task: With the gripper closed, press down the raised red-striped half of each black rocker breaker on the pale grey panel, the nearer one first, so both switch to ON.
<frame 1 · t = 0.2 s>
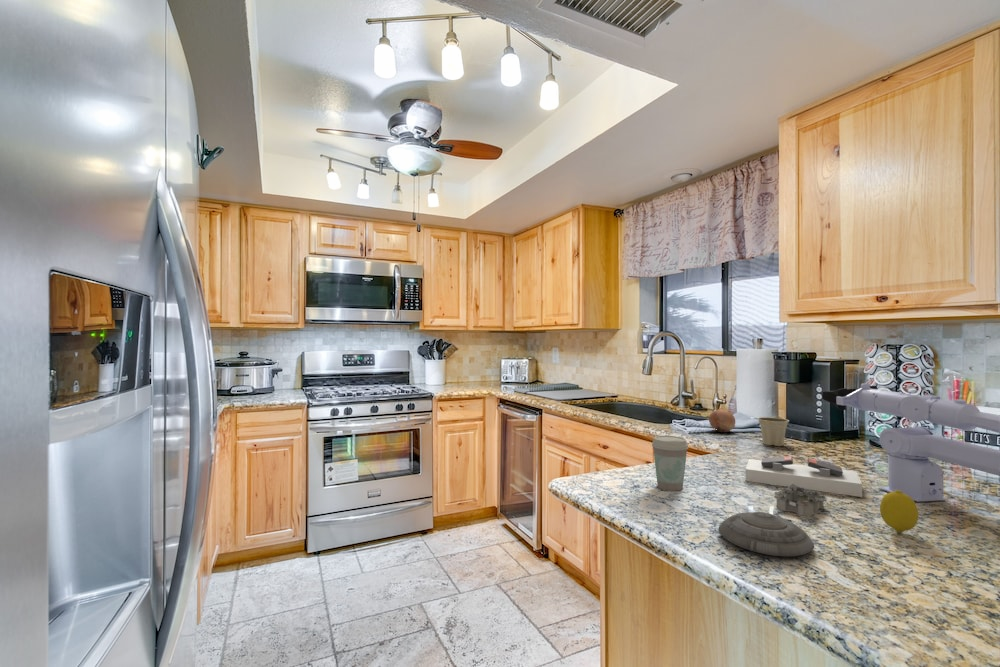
hand: (835, 394, 131), 21 cm above the table, tool horizontal, fingers open, 7 cm apart
flower pot: (773, 444, 164), on the table
lemon: (898, 533, 90), on the table
breaker panel: (800, 482, 121), on the table
breaker near: (824, 467, 118), point 4 cm above the table, hinge at 12.0°
onion: (722, 432, 186), on the table
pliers: (827, 469, 135), on the table
coffee cup: (670, 488, 117), on the table
breaker far: (777, 462, 124), point 4 cm above the table, hinge at 12.0°
flying saucer: (764, 545, 85), on the table
grey stone ruin model: (799, 509, 103), on the table
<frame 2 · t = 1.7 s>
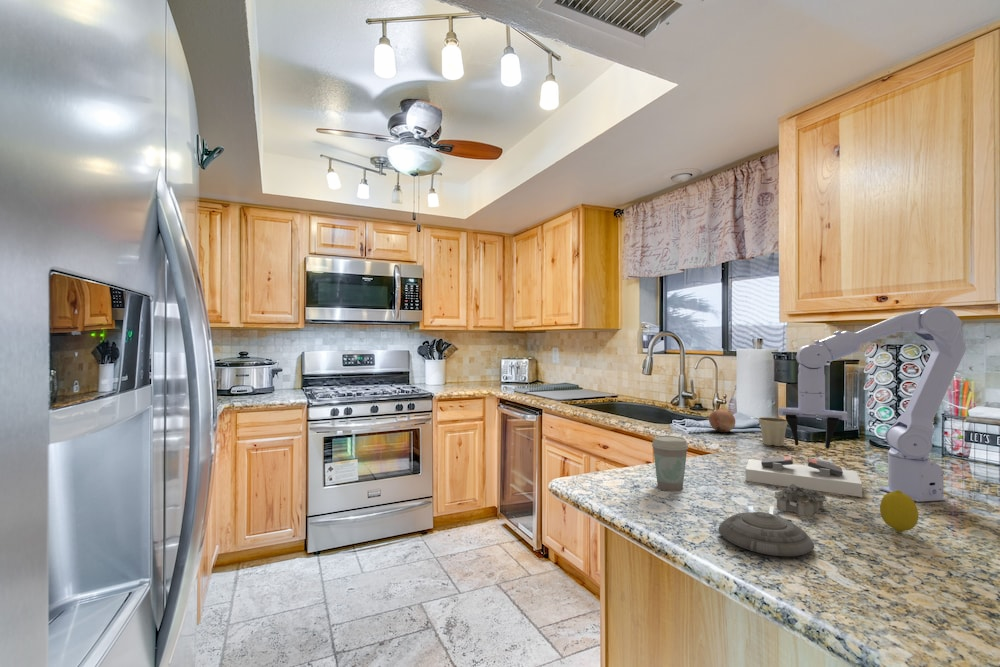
hand: (811, 446, 120), 9 cm above the table, tool pointing down, fingers open, 6 cm apart
nothing on the table moved.
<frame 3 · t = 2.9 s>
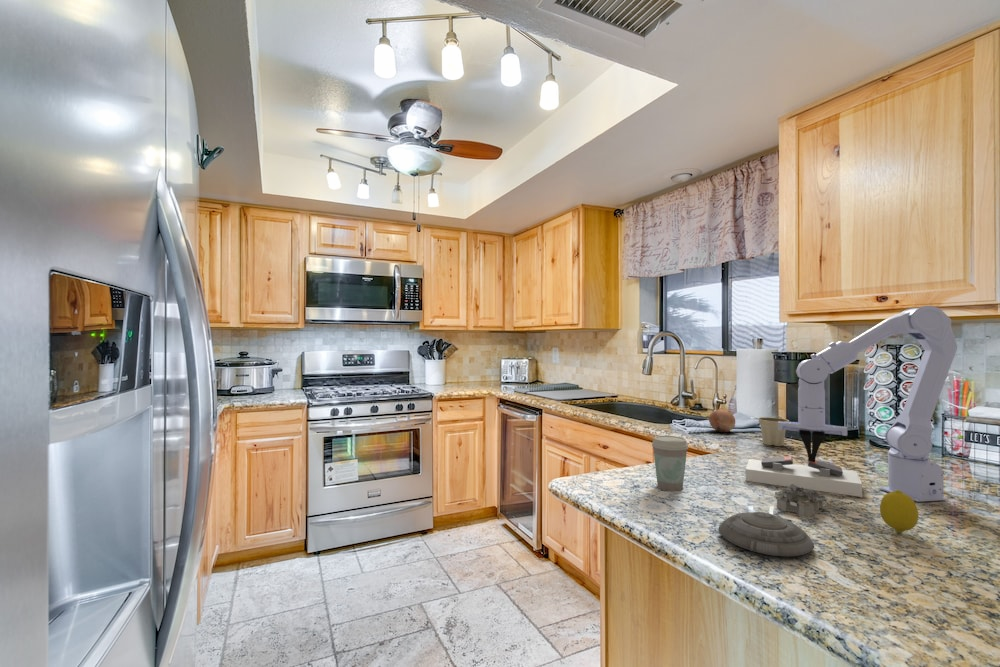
hand: (811, 461, 120), 6 cm above the table, tool pointing down, fingers closed, pressing on breaker near
breaker near: (824, 467, 118), point 4 cm above the table, hinge at 12.0°, touching gripper
everything else where it was.
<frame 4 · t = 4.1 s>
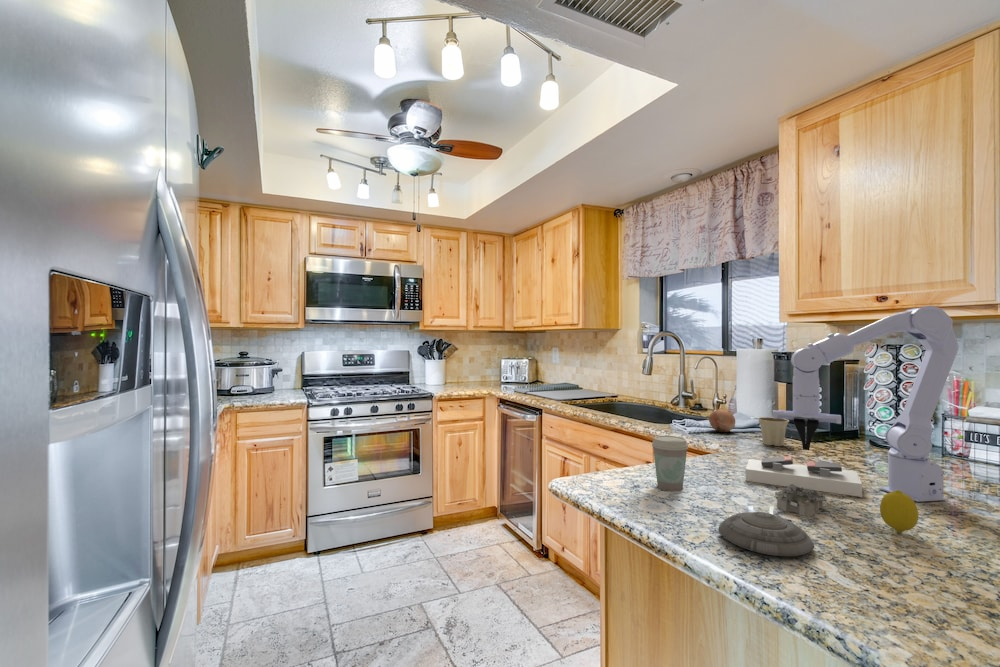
hand: (805, 449, 120), 8 cm above the table, tool pointing down, fingers closed
breaker near: (823, 467, 119), point 4 cm above the table, hinge at -6.3°
everything else where it was.
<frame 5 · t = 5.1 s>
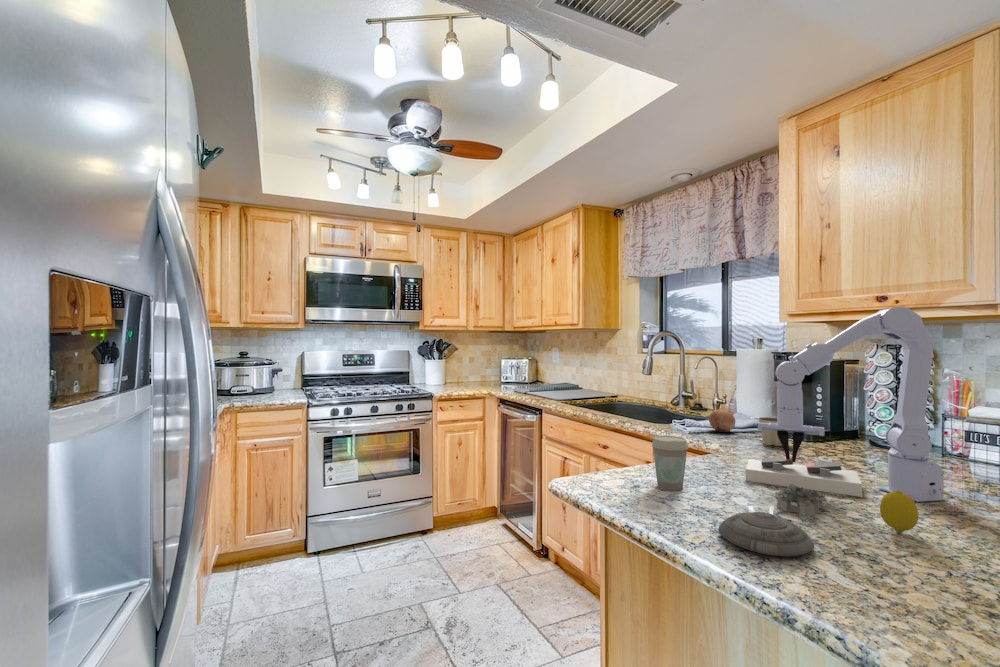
hand: (790, 461, 122), 5 cm above the table, tool pointing down, fingers closed, pressing on breaker far
breaker near: (823, 467, 119), point 4 cm above the table, hinge at -12.0°
breaker far: (777, 462, 124), point 4 cm above the table, hinge at 11.6°, touching gripper
everything else where it was.
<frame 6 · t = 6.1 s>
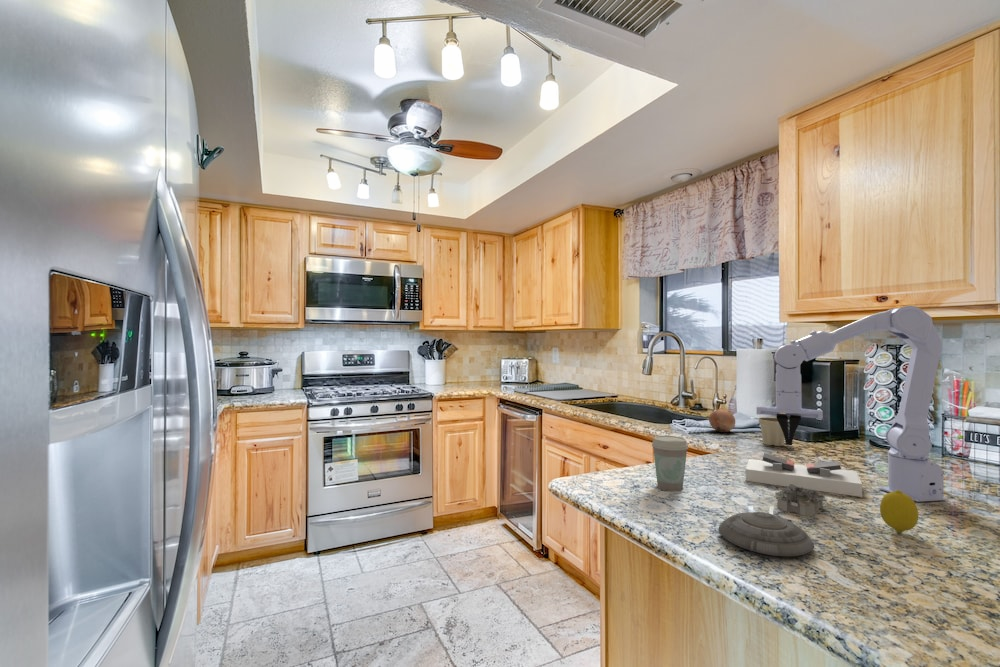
hand: (788, 444, 122), 9 cm above the table, tool pointing down, fingers closed
breaker near: (823, 467, 119), point 4 cm above the table, hinge at -15.1°
breaker far: (778, 462, 124), point 4 cm above the table, hinge at -13.3°
everything else where it was.
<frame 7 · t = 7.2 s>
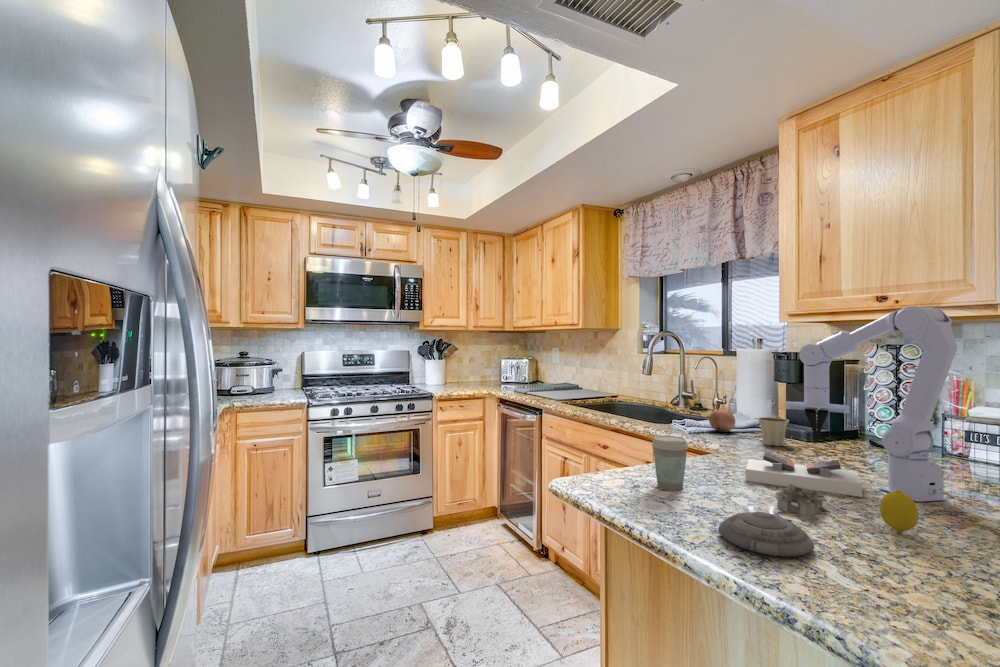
hand: (816, 437, 131), 9 cm above the table, tool pointing down, fingers closed
breaker near: (823, 467, 119), point 4 cm above the table, hinge at -17.1°
breaker far: (778, 462, 124), point 4 cm above the table, hinge at -19.1°, touching breaker panel
everything else where it was.
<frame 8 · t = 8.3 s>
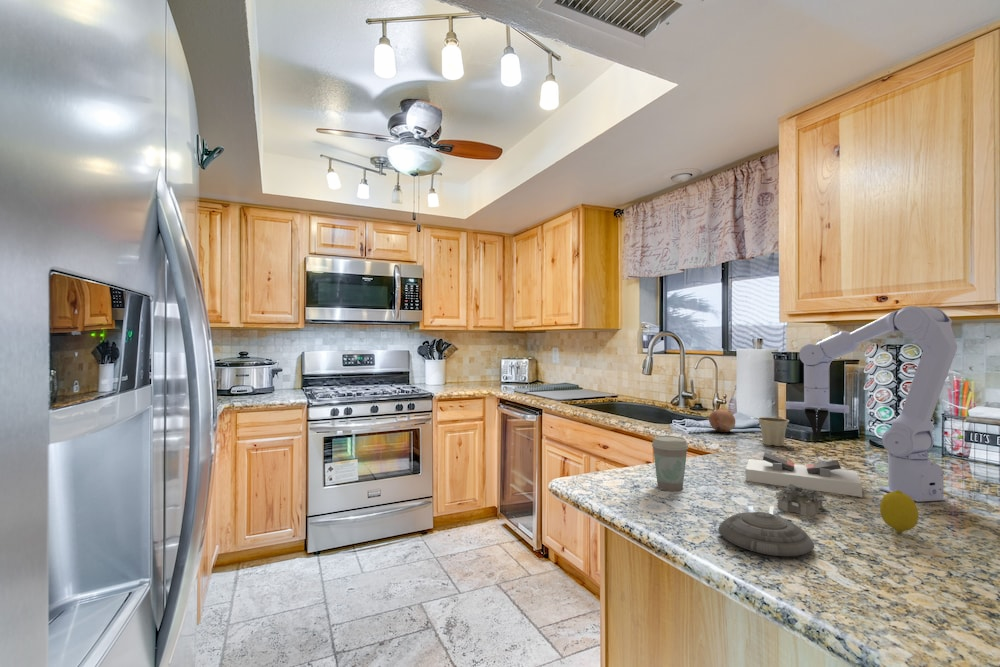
hand: (816, 437, 131), 9 cm above the table, tool pointing down, fingers closed
breaker near: (823, 467, 119), point 4 cm above the table, hinge at -18.1°
breaker far: (778, 462, 124), point 4 cm above the table, hinge at -17.1°
everything else where it was.
at the end: breaker near at -18° (first picture: +12°); breaker far at -17° (first picture: +12°) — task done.
